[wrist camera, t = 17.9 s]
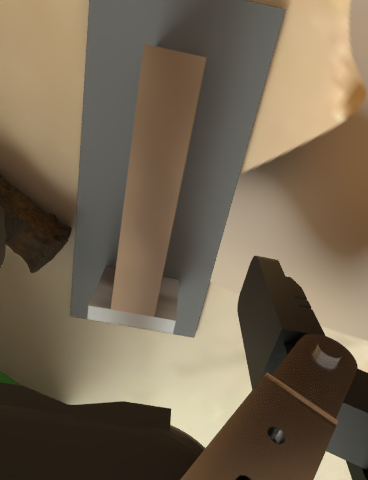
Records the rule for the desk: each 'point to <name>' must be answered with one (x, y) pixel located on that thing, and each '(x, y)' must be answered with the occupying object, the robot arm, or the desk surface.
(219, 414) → the desk surface
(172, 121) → the stick
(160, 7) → the mat
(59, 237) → the dark brown bar
